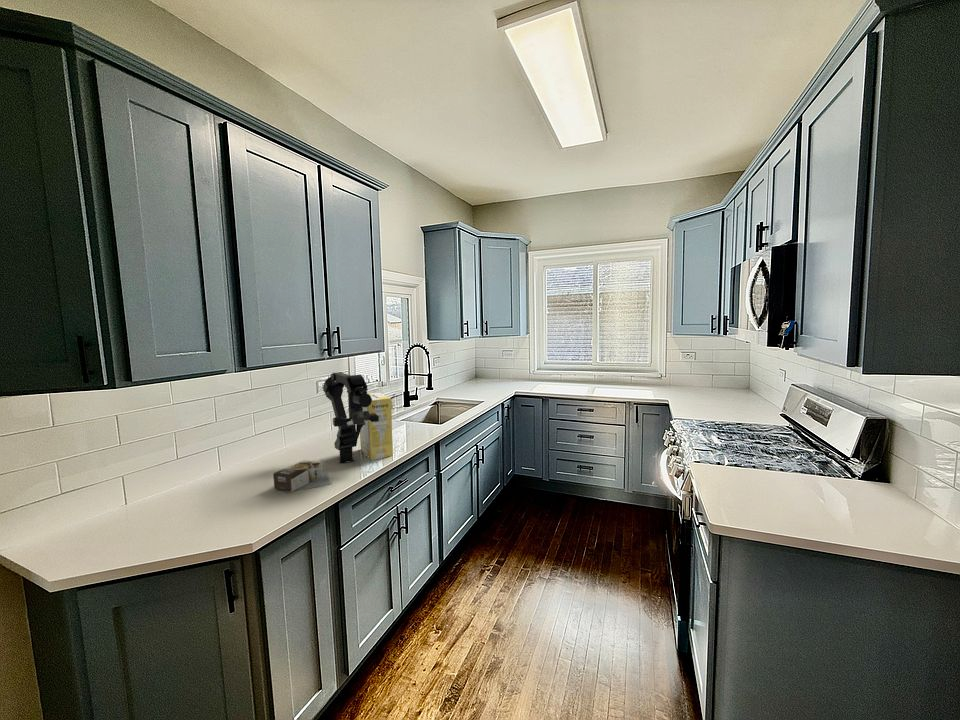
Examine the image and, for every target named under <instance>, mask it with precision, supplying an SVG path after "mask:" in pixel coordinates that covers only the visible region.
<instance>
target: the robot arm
mask: <svg viewBox="0 0 960 720" xmlns="http://www.w3.org/2000/svg"><path fill="white" fill-rule="evenodd" d="M344 388H346V393H347V399H348V400H347V401H348V402H347V403H348V417H347V413H346V410H345V406H344V402H343V399H342V396H343V392H344ZM322 390H323V393H324V394H325V397H326V398H327V399H328V400H329V401H330V402H331V405H332V410H333V412H334V417H333V418H332V425H333V426H334V427H335V428H336V427H337V428H338V429H337V433H336V439H335V441H334V448H335V449H336V450H337V451H339V457H338V459H337V460H338V461H339V463H340V464H343V463H350V462H355V461H356V460H355V458H354V457H353V448H354V447H357V444H358V440H359V438H360V437H359V436H360V430H361V428H362V426H363V425H365V424H366V423H365V420H370V421H371V422H377V421H379V416H378V415H377V414H376V413H370V414H369V411H364V412H363V408H362V407H368V406H369V405H370V404H371V402H372V398H371V396H370V395H369V394H370V393H368V391H369V389H368V384H367V383H366V381H365V378H364V377H363V375H362V374H353V375H351V374H347V373H344V372H342V371H340V372H332V373H331V374H330V376H329V377H328V378H326V379H325V380H324V383H323V386H322Z"/></svg>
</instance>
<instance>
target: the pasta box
mask: <svg viewBox="0 0 960 720" xmlns="http://www.w3.org/2000/svg"><path fill="white" fill-rule="evenodd" d="M368 394H369V395H370V396H371V398H372V402H371V404H370V405H369V406H368V407H362V408H363V412H364V411H369V414H370V413H376V414H377V415H378V416H379V421H377V422H371V421H370V420H365V423H366V424H365V425H363V426H362V428H361V430H360V434H359V436H360V437H359V443H360V451H361V452H363V454H365V455H366V457H367V458H368V459H370V460H371V461H373V460H376V459H383V458H388V456H389V457H393V456H394V451H393V449H394V448H393V447H394V446H393V422H392V419H393V418H392V415H393V414H392V413H393V412H392V398H391V397H389V396H387V395H385V394H383V393H381V392H374V393H372V392H371V393H368Z"/></svg>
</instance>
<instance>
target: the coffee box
mask: <svg viewBox="0 0 960 720" xmlns="http://www.w3.org/2000/svg"><path fill="white" fill-rule="evenodd" d="M322 465H323V464H322V462H321V461H316V460H309V459H303V460H301V461H299V462H296V463H294V464H292V465H289V466H287V467H285V468H283V469H280V470H278V471H275V472H273V476H272V477H273V489H276V490H280V491H284V492H286V491H290V492H289V493H292V491H293V492H295V491H294V490H296V489H298V488H300V487H302V486H304V485H306V484H308V483H310V482H312V481H314V480H316V479H318V478H320V477H322V470H323V467H322Z"/></svg>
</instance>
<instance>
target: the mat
mask: <svg viewBox="0 0 960 720" xmlns="http://www.w3.org/2000/svg"><path fill="white" fill-rule="evenodd" d="M330 485H332V482H331V480H330V478H329V475H328V473H327V470H326V469H325V468H324V469H323V468H322V477H320V478H318V479H316V480H314V481H312V482H310V483H308V484H306V485H304V486H302V487H300V488H298V489H296V490H294V491H292V492H298V491H303V490H309V489H314V488H319V487H325V486H330ZM292 492H290V491H285V493H286V494H287V493H292Z"/></svg>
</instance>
